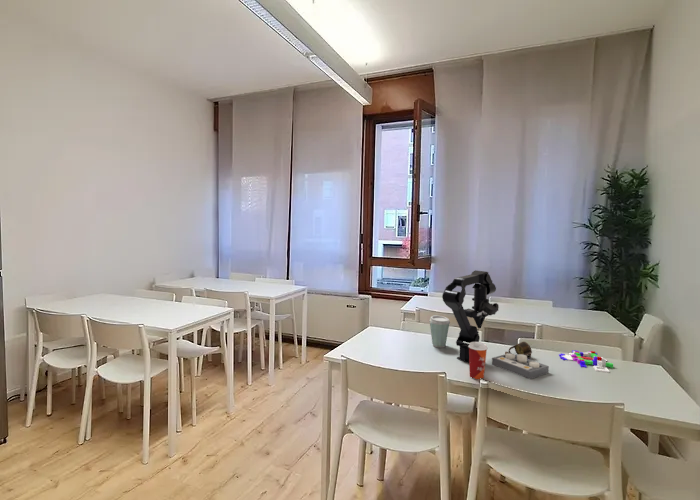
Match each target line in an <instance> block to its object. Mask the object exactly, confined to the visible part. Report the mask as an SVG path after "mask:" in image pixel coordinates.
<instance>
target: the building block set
mask: <svg viewBox="0 0 700 500" xmlns="http://www.w3.org/2000/svg"><path fill="white" fill-rule="evenodd" d="M558 356H559V358H560V359H561V360H563V361H565V360H567V361H570V360H573V361H572V362H577V364H578V365H579V366H580V367H581V368H586V369H587V368H588V367H587V366H589V365H592V367H593V369H594V370H595V371H596V372H603V373H608V374H609V373H610V370H609V369H608V368H609V367H611V368H610V369H614V363H612V362H608V360H607V359H606V358H604V357H602V356H599V355H598V353H597V352H596V351H593V350H590V351H586V352H584V351H579V350H576V349H575V350H573V349H572V350H571V352H569V353H568V354H565V353H559V354H558ZM572 357H574V358H572ZM606 361H607V362H606ZM593 365H594V366H593Z"/></svg>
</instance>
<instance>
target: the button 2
mask: <svg viewBox="0 0 700 500" xmlns="http://www.w3.org/2000/svg"><path fill="white" fill-rule="evenodd" d="M537 362H538V361H535V362H529V366H531V367H533V368H539V365H540V364H539V363H540V362H538V363H537Z"/></svg>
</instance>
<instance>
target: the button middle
mask: <svg viewBox="0 0 700 500" xmlns="http://www.w3.org/2000/svg"><path fill="white" fill-rule="evenodd" d="M516 355H517V362H519V363H522V364H525V363H527V359H528V355H523V354H516Z"/></svg>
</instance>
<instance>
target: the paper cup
mask: <svg viewBox="0 0 700 500" xmlns="http://www.w3.org/2000/svg"><path fill="white" fill-rule="evenodd" d="M468 344H469V346H468V347H469V362H468V365H469V367H468V368H469V369H468V370H469V377H470V378H471V377H472V378H471V379H473V378H475V379H474V380H481V379H480V378H483V379H484V376H485V369H486V360H487V350H488V346H487V344H486V343H484V342H482V341H481V342H480V341H479V342H470V343H468Z"/></svg>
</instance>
